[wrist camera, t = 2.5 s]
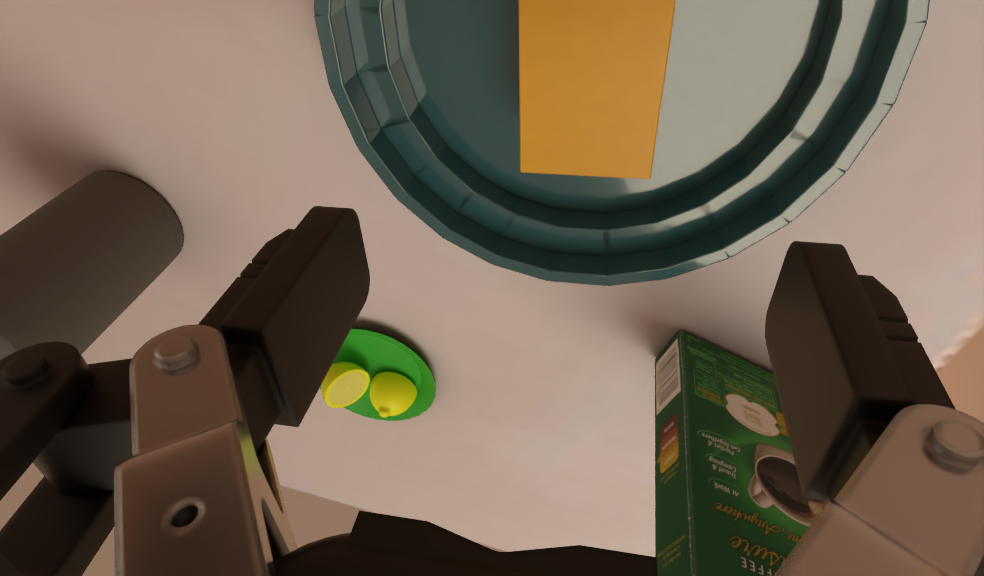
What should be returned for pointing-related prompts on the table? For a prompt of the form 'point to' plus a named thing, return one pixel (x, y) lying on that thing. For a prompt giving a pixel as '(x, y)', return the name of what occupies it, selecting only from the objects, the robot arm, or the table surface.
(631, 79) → the block
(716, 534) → the coffee box
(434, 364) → the table surface
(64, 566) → the robot arm
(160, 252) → the bottle
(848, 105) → the teal plate
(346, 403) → the lemons on green plate
